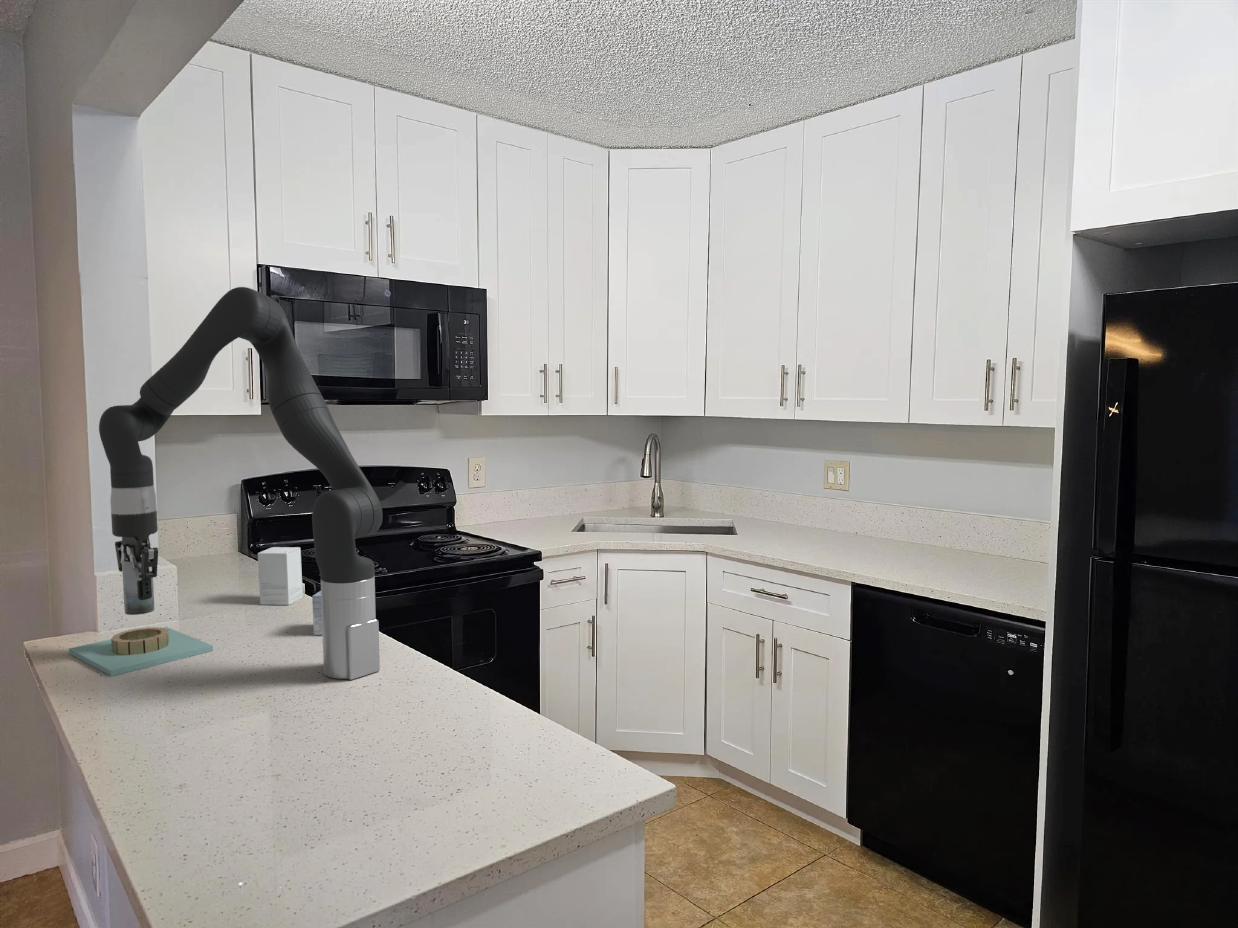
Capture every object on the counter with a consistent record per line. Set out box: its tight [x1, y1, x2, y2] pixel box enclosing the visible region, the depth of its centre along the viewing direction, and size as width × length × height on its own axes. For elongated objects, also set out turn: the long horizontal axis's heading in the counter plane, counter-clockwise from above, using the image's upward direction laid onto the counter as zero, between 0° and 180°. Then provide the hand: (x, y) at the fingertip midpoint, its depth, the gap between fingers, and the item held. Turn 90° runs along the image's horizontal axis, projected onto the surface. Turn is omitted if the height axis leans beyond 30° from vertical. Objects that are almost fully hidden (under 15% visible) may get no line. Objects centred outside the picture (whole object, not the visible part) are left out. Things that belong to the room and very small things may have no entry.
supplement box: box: [257, 546, 304, 606], centre depth 195 cm, size 7×7×13 cm
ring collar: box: [111, 626, 169, 655], centre depth 158 cm, size 9×9×2 cm
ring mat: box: [68, 626, 214, 677], centre depth 158 cm, size 20×18×1 cm
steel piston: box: [121, 559, 156, 616], centre depth 157 cm, size 5×5×10 cm
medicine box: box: [311, 590, 322, 636], centre depth 173 cm, size 8×4×9 cm, turn 179°
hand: (138, 596), depth 158 cm, fingers closed on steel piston, 5 cm apart
